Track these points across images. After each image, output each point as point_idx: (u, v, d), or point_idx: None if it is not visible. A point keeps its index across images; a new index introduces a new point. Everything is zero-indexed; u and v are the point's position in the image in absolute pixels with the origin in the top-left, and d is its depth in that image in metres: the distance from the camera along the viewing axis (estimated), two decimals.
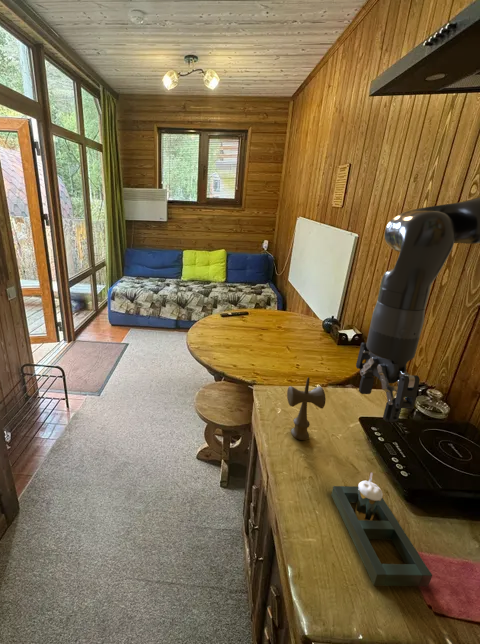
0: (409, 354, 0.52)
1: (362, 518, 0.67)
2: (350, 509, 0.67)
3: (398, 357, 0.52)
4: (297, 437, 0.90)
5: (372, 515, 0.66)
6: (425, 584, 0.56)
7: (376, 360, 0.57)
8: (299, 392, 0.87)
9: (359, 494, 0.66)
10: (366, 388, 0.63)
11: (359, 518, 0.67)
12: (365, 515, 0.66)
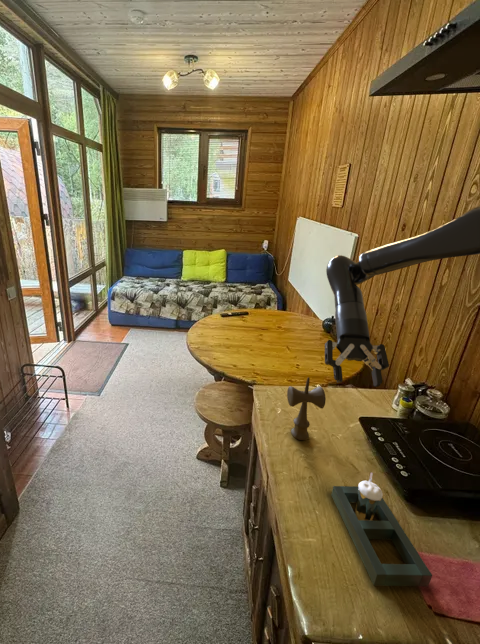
0: (339, 332, 0.80)
1: (362, 518, 0.67)
2: (350, 509, 0.67)
3: (337, 336, 0.81)
4: (297, 437, 0.90)
5: (372, 515, 0.66)
6: (425, 584, 0.56)
7: None
8: (299, 392, 0.87)
9: (359, 494, 0.66)
10: (374, 380, 0.74)
11: (359, 518, 0.67)
12: (365, 515, 0.66)
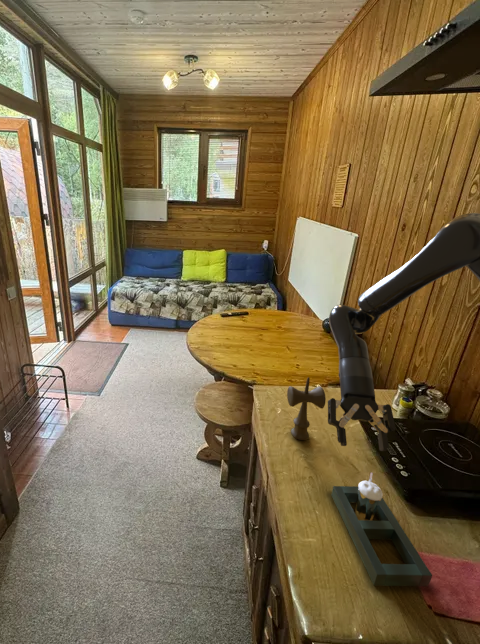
0: (343, 389, 0.76)
1: (362, 518, 0.67)
2: (350, 509, 0.67)
3: None
4: (297, 437, 0.90)
5: (372, 515, 0.66)
6: (425, 584, 0.56)
7: None
8: (299, 392, 0.87)
9: (359, 494, 0.66)
10: (380, 444, 0.71)
11: (359, 518, 0.67)
12: (365, 515, 0.66)
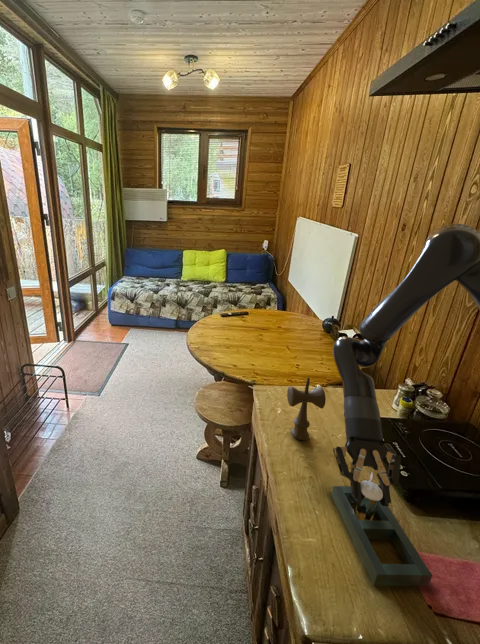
0: (348, 431, 0.71)
1: (362, 518, 0.67)
2: (350, 509, 0.67)
3: (346, 434, 0.72)
4: (297, 437, 0.90)
5: (372, 515, 0.66)
6: (425, 584, 0.56)
7: None
8: (299, 392, 0.87)
9: None
10: (382, 498, 0.65)
11: (359, 518, 0.67)
12: (365, 515, 0.66)
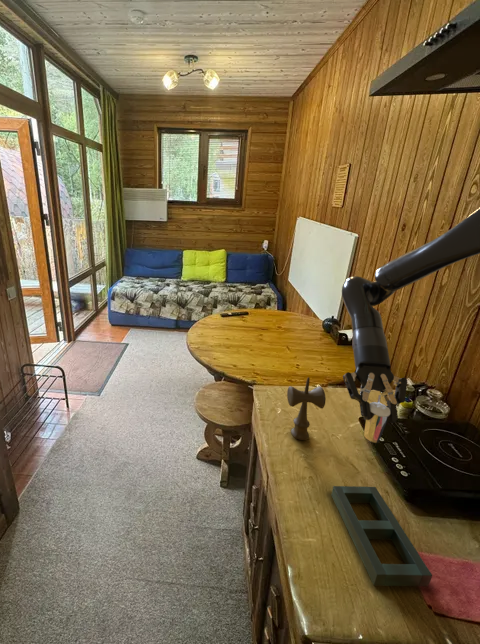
0: (357, 359, 0.75)
1: (370, 437, 0.71)
2: (350, 509, 0.67)
3: (355, 363, 0.76)
4: (297, 437, 0.90)
5: (380, 433, 0.70)
6: (425, 584, 0.56)
7: None
8: (299, 392, 0.87)
9: None
10: (389, 416, 0.70)
11: (368, 436, 0.72)
12: (374, 432, 0.70)
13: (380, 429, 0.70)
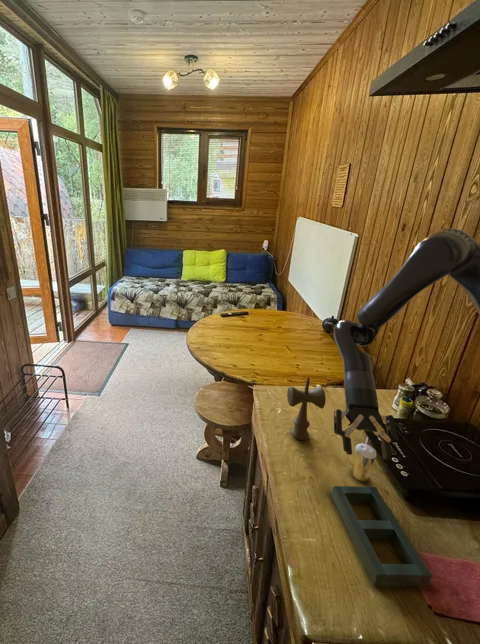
0: (348, 400, 0.81)
1: (359, 476, 0.77)
2: (350, 509, 0.67)
3: None
4: (297, 437, 0.90)
5: (367, 472, 0.76)
6: (425, 584, 0.56)
7: None
8: (299, 392, 0.87)
9: (356, 454, 0.76)
10: (384, 453, 0.75)
11: (356, 475, 0.78)
12: (361, 472, 0.76)
13: (367, 469, 0.76)
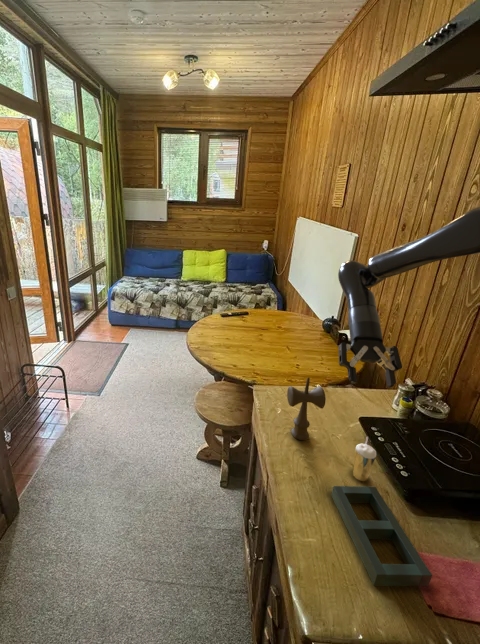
0: (352, 334, 0.82)
1: (359, 476, 0.77)
2: (350, 509, 0.67)
3: (350, 338, 0.84)
4: (297, 437, 0.90)
5: (367, 472, 0.76)
6: (425, 584, 0.56)
7: None
8: (299, 392, 0.87)
9: (356, 454, 0.76)
10: (388, 381, 0.77)
11: (356, 475, 0.78)
12: (361, 472, 0.76)
13: (367, 469, 0.76)
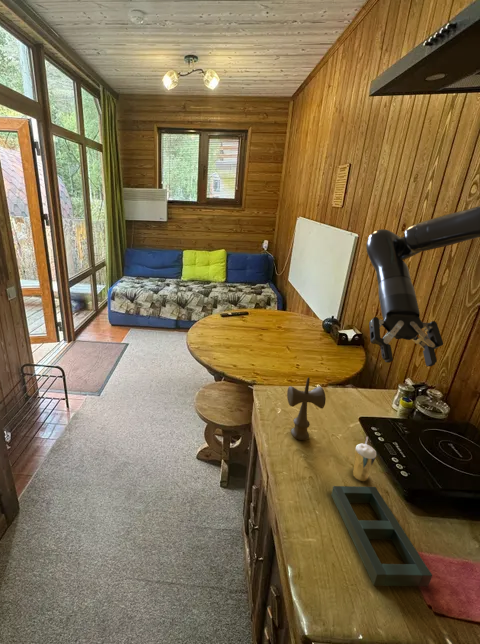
0: (385, 309, 0.74)
1: (359, 476, 0.77)
2: (350, 509, 0.67)
3: (382, 314, 0.75)
4: (297, 437, 0.90)
5: (367, 472, 0.76)
6: (425, 584, 0.56)
7: None
8: (299, 392, 0.87)
9: (356, 454, 0.76)
10: (427, 359, 0.68)
11: (356, 475, 0.78)
12: (361, 472, 0.76)
13: (367, 469, 0.76)
